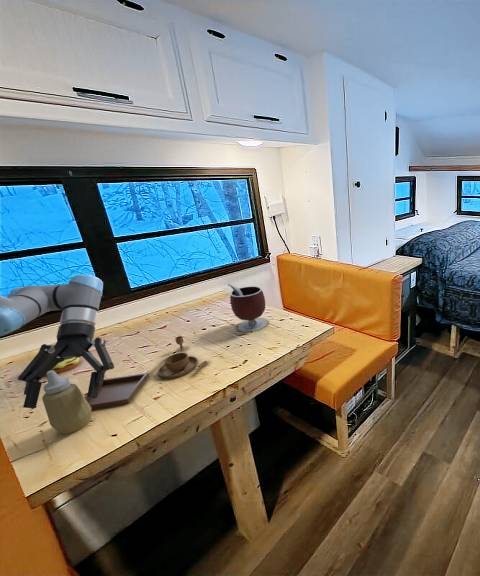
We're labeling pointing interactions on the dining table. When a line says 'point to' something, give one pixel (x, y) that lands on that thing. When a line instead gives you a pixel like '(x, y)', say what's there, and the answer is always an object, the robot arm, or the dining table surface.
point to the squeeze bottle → (65, 404)
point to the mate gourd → (248, 307)
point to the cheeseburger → (65, 364)
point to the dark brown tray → (117, 391)
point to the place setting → (179, 362)
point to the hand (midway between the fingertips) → (61, 402)
